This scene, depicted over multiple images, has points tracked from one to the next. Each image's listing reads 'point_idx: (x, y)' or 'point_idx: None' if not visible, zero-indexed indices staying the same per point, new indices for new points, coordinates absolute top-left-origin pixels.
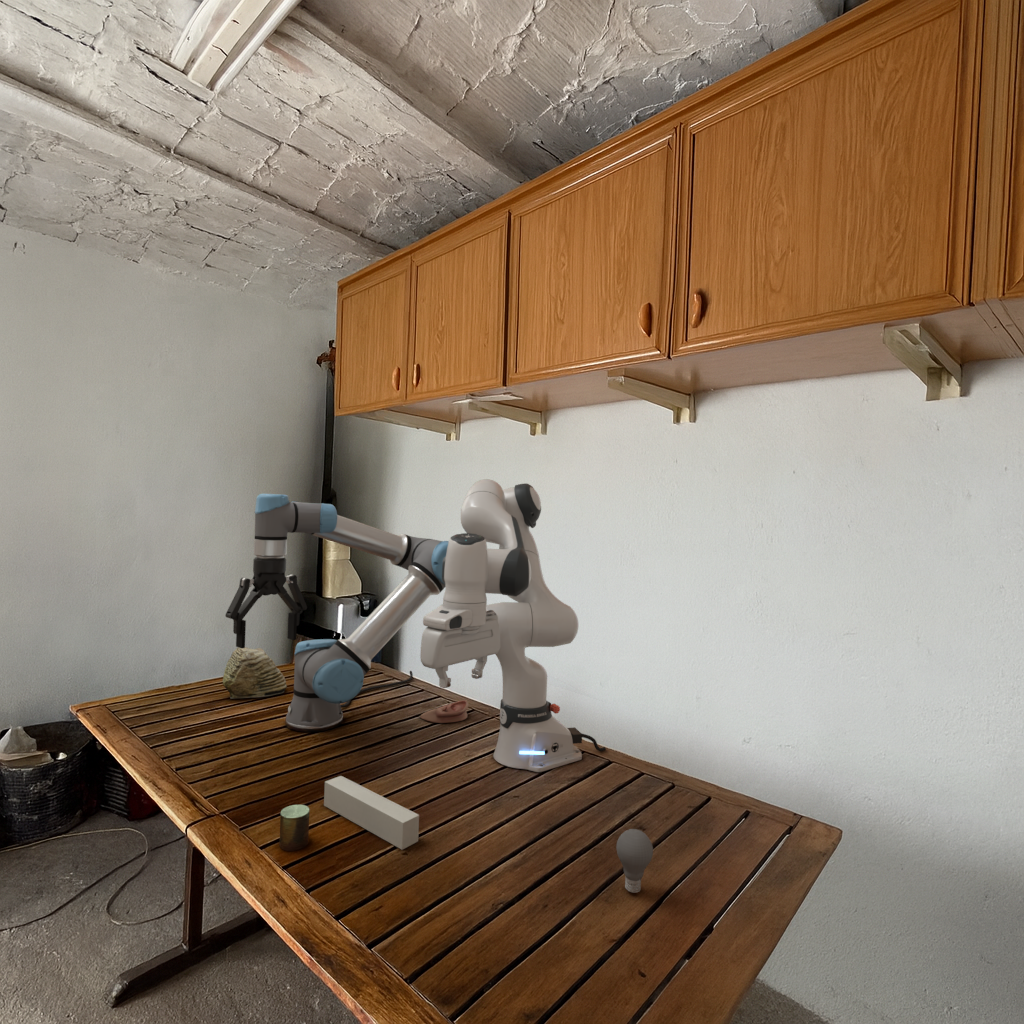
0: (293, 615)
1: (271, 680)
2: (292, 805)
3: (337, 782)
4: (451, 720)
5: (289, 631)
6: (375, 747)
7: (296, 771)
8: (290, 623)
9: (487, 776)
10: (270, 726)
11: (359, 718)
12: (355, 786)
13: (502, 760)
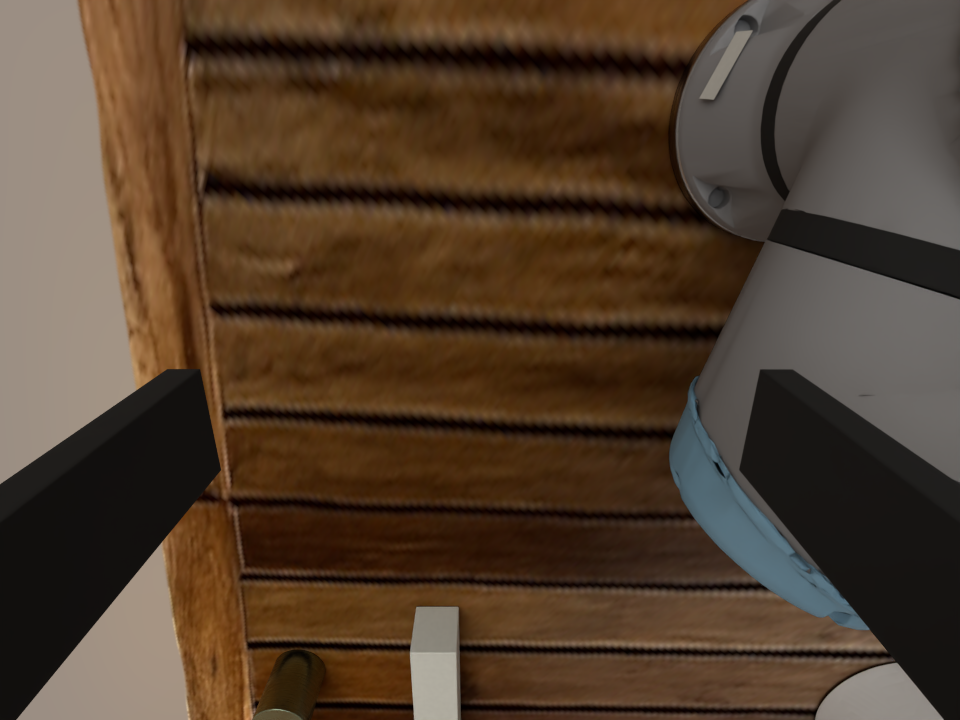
0: (951, 697)
1: None
2: (284, 712)
3: (428, 671)
4: None
5: (797, 441)
6: None
7: (470, 437)
8: (864, 519)
9: (746, 714)
10: (643, 17)
11: None
12: (446, 703)
13: (825, 716)
